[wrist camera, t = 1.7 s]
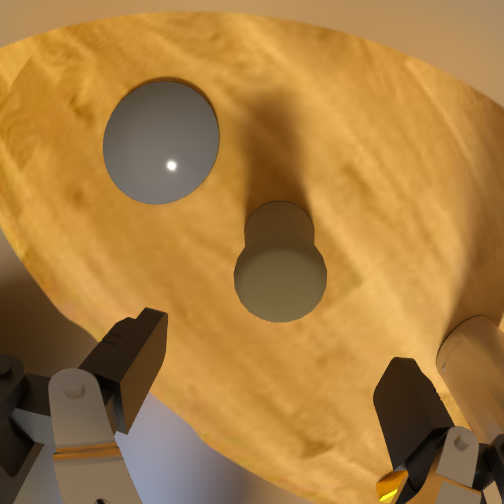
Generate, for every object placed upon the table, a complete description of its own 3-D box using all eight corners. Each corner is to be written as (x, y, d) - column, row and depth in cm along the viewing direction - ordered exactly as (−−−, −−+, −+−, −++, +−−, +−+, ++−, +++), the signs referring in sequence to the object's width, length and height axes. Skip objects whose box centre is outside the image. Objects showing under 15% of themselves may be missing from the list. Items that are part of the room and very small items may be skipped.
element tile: (437, 442, 34) (446, 462, 29) (464, 455, 36) (472, 471, 31) (371, 484, 38) (374, 503, 34) (408, 492, 40) (412, 508, 36)
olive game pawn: (261, 188, 24) (250, 211, 14) (326, 219, 25) (360, 263, 14) (233, 251, 26) (204, 313, 16) (295, 279, 26) (304, 354, 16)
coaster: (231, 89, 22) (230, 87, 21) (206, 214, 25) (204, 215, 25) (118, 81, 22) (115, 80, 21) (99, 193, 25) (96, 194, 25)
